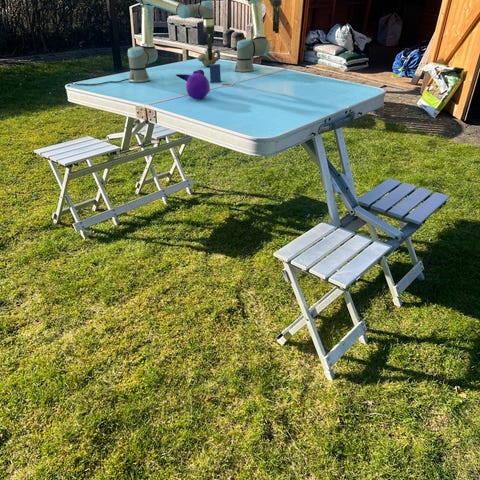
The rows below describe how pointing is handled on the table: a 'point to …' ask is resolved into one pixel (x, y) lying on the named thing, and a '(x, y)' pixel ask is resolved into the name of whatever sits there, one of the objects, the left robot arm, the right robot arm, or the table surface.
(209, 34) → the left robot arm
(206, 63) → the teapot
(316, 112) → the table surface
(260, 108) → the table surface
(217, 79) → the brick
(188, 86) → the toy
